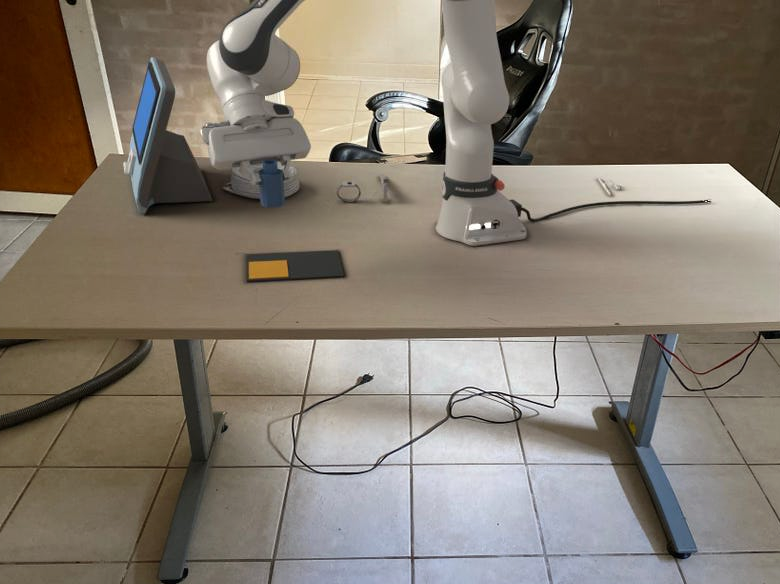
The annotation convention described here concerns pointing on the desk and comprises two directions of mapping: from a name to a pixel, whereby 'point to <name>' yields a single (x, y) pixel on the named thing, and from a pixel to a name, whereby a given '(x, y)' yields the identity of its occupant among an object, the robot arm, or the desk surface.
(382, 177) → the caliper
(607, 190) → the picture light
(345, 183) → the wristwatch
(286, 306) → the desk surface
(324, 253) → the desk mat
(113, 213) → the desk surface
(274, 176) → the vase
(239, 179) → the cable
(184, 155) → the touchscreen device
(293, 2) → the robot arm
